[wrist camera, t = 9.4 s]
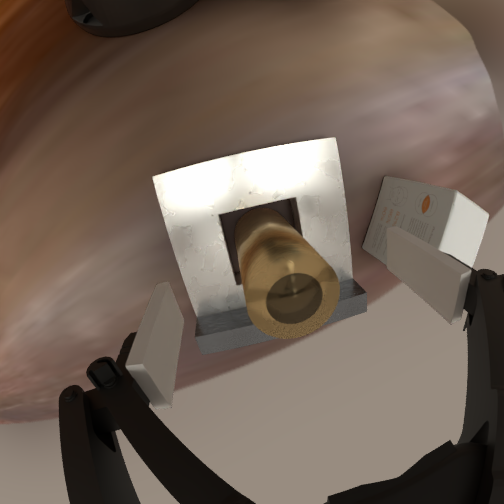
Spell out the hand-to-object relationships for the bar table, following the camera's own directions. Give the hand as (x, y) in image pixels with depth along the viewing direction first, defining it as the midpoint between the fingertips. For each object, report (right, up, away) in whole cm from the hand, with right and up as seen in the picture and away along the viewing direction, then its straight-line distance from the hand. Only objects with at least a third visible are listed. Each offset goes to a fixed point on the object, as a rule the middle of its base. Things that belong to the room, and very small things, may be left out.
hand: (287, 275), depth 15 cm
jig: (-1, +3, +10) cm, 10 cm away
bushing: (-1, +3, +10) cm, 10 cm away
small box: (+13, +5, +11) cm, 18 cm away
